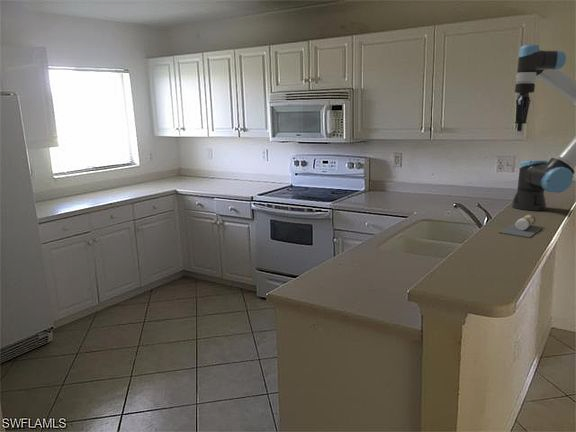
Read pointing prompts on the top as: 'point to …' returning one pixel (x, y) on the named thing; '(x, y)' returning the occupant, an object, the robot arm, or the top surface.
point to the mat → (525, 233)
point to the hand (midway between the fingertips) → (519, 138)
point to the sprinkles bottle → (525, 222)
